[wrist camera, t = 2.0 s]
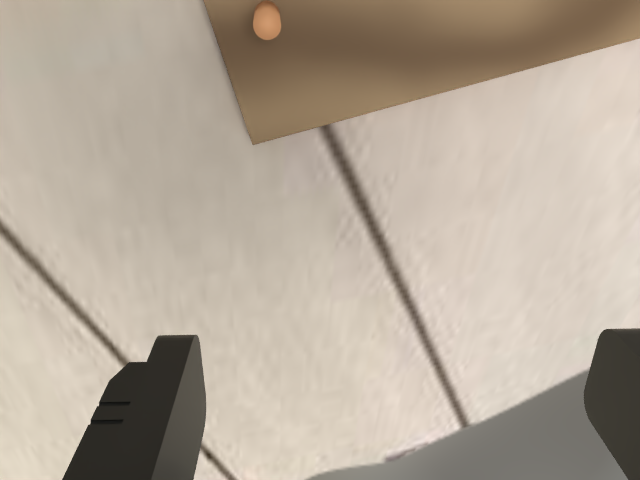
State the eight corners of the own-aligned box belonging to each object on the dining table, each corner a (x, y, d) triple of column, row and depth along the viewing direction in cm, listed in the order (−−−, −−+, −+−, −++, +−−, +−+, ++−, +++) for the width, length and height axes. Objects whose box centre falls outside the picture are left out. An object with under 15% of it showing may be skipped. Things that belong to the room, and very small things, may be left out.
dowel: (250, 4, 25) (249, 14, 23) (275, -3, 25) (276, 6, 23) (258, 30, 26) (257, 43, 23) (282, 24, 26) (284, 35, 23)
